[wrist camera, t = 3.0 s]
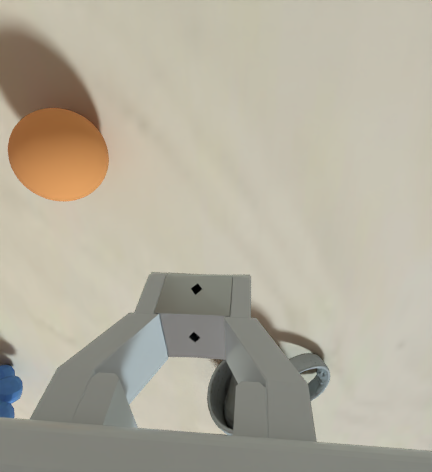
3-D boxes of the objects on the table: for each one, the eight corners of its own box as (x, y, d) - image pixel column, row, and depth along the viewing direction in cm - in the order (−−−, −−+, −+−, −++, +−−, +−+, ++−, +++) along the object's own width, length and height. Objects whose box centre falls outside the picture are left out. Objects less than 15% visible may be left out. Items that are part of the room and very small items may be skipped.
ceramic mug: (241, 394, 37) (239, 474, 30) (209, 353, 32) (201, 437, 26) (335, 379, 33) (355, 465, 27) (314, 332, 29) (332, 421, 23)
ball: (26, 98, 19) (-36, 126, 15) (109, 95, 18) (68, 124, 14) (56, 176, 22) (12, 218, 18) (128, 176, 21) (99, 218, 17)
